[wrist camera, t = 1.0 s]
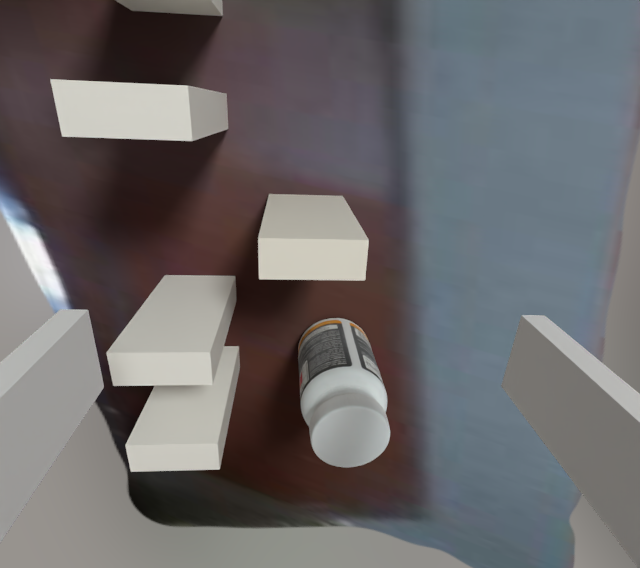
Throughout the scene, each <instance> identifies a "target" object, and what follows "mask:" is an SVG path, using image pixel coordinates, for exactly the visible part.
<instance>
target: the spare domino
mask: <svg viewBox="0 0 640 568" xmlns="http://www.w3.org/2000/svg"><path fill="white" fill-rule="evenodd" d="M368 243H369V240H368V238H367V236H366V234H365V233H364V231H363V229H362V228H361V226H360V224H359V223H358V221H357V219H356V218H355V216H354V214H353V212H352V211H351V209H350V207H349V206H348V204H347V202H346V201H345V199H344V197H343V196H324V195H286V194H269V196H268V200H267V204H266V208H265V212H264V216H263V220H262V224H261V228H260V232H259V236H258V262H259V279H269V280H365V276H366V265H367V254H368Z"/></svg>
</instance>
